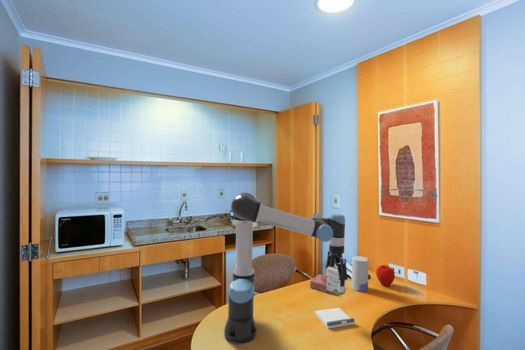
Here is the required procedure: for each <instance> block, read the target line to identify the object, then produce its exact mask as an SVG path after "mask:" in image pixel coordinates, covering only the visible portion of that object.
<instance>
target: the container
mask: <svg viewBox="0 0 525 350" xmlns="http://www.w3.org/2000/svg"><path fill="white" fill-rule="evenodd" d="M351 261H352V262H351V266H352V267H351V289H352V290H354V291H357V292H361V293H364V292H368V290H369V266H370V265H369V258H368V257H365V256H360V255H355V256H352V260H351Z"/></svg>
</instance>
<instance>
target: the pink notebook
mask: <svg viewBox="0 0 525 350" xmlns="http://www.w3.org/2000/svg"><path fill="white" fill-rule="evenodd" d="M309 285H310V286H309V289H311V290H316V291H319V292H323V293H327V294H330V295H333V294H334V293H333V292H331V291H329V290H327V275H324V274H321V273H319V274H317V275H316V276H314V278H312V279H311V280H310V283H309Z"/></svg>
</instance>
